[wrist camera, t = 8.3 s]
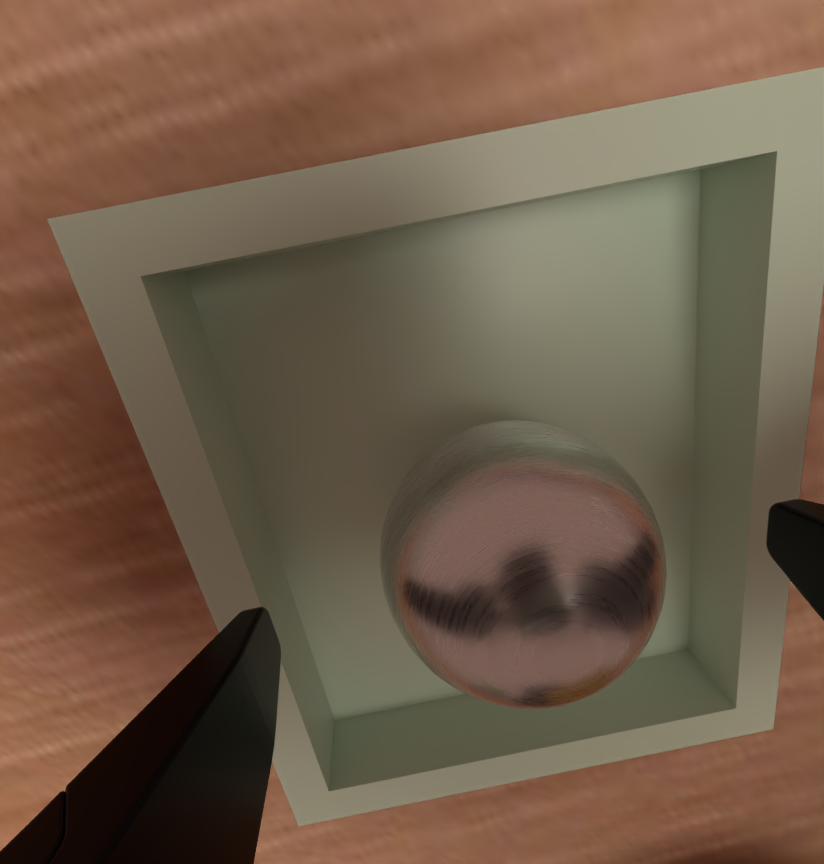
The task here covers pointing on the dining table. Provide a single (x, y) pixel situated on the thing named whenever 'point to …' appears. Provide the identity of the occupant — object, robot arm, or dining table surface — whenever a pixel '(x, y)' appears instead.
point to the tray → (480, 405)
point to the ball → (523, 564)
